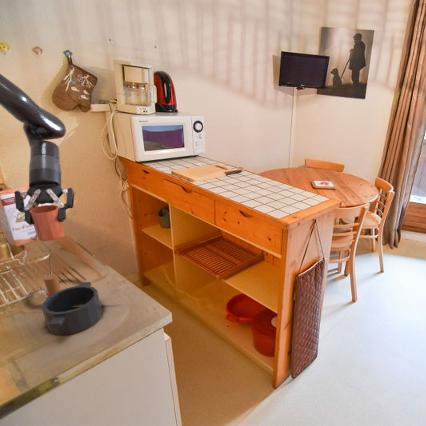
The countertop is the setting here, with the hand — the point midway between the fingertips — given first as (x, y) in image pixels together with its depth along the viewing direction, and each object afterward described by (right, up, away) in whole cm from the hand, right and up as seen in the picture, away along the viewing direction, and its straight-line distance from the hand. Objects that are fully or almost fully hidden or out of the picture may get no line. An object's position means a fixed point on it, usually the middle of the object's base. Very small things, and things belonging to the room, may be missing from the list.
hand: (46, 222), depth 93 cm
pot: (+15, -26, -7) cm, 31 cm away
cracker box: (-28, -8, +28) cm, 41 cm away
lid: (+3, -22, 0) cm, 22 cm away
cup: (-1, -4, +3) cm, 6 cm away
